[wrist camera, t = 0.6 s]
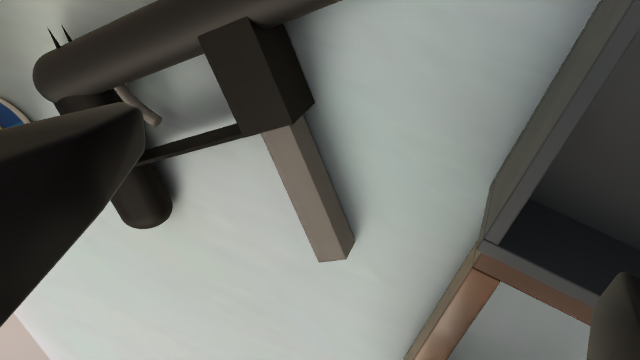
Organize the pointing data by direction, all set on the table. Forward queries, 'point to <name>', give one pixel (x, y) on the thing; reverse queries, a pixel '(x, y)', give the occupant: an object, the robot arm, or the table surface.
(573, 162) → the tote
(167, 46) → the door handle
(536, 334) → the table surface
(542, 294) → the frame
